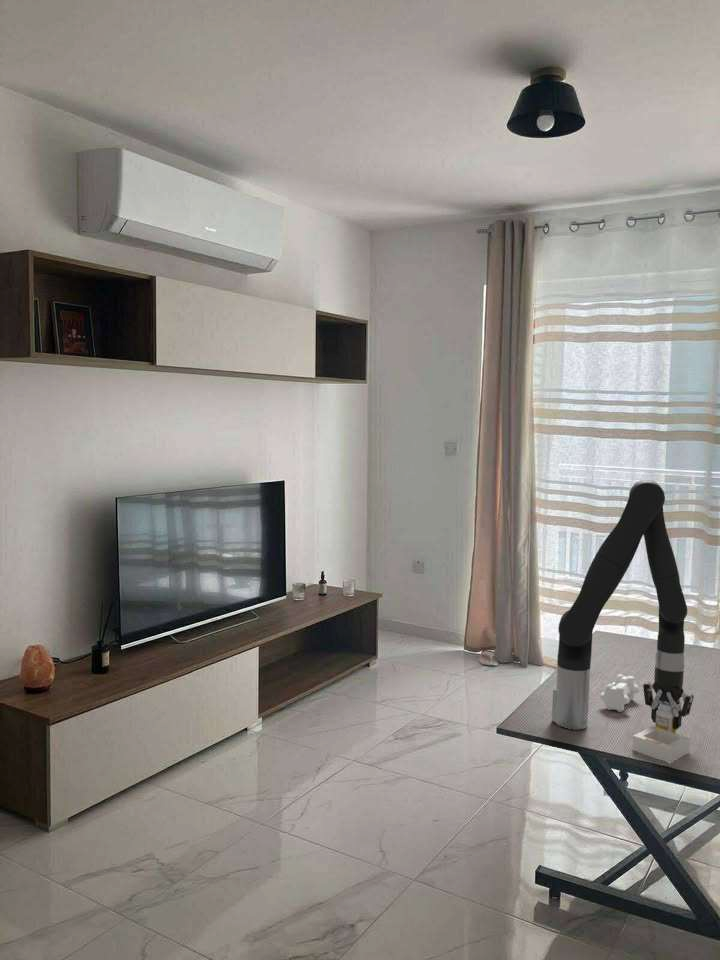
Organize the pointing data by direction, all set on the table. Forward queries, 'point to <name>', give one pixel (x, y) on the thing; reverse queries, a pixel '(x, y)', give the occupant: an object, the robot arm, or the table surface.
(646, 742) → the socket block
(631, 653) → the table surface
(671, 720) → the supplement bottle
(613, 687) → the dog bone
